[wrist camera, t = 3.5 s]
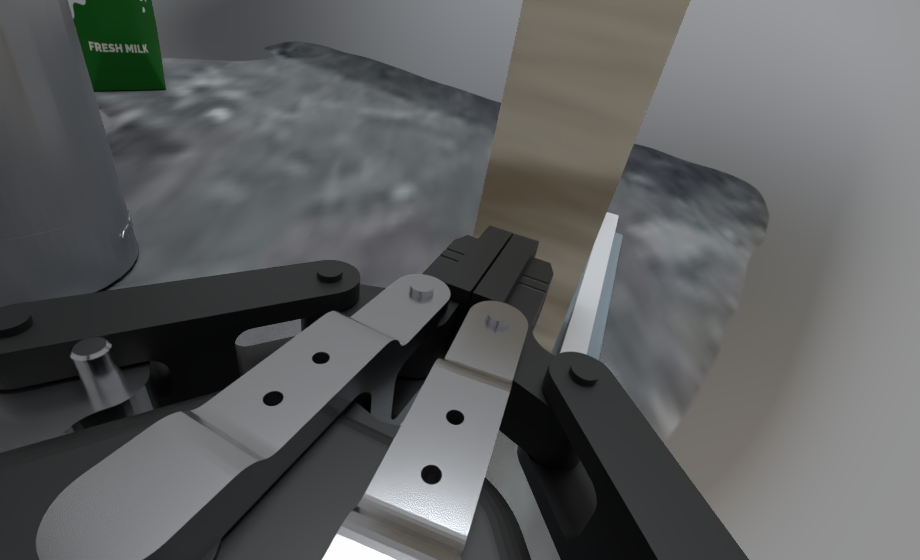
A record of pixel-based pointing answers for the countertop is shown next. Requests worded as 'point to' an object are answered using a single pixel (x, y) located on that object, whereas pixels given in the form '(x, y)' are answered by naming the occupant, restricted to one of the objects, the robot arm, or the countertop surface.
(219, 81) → the countertop surface
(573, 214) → the block
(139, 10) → the milk carton
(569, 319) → the chute
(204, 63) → the countertop surface
